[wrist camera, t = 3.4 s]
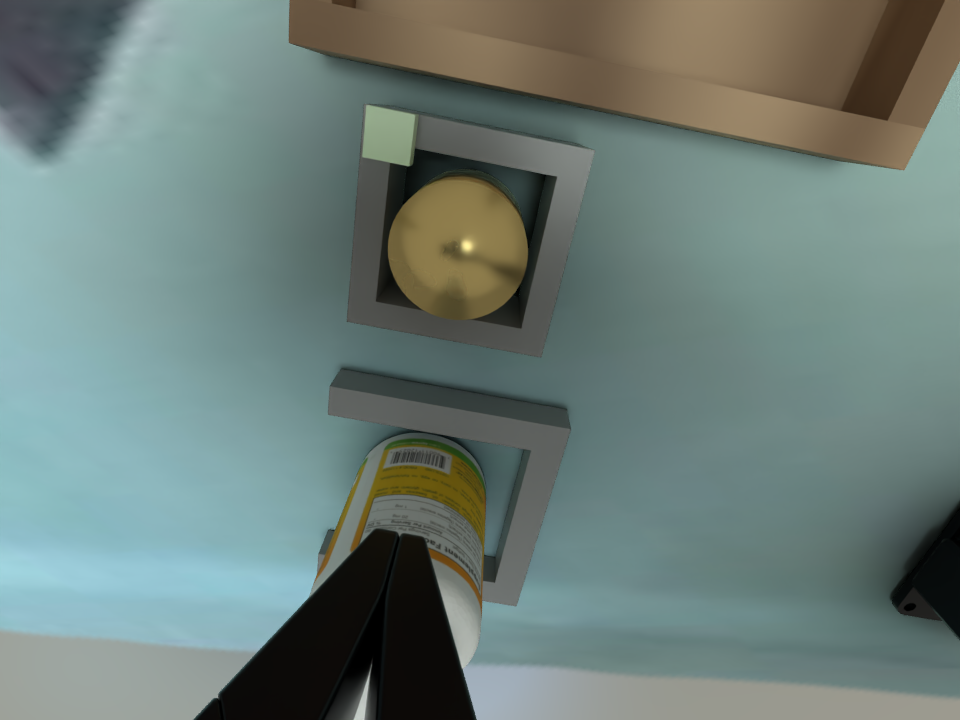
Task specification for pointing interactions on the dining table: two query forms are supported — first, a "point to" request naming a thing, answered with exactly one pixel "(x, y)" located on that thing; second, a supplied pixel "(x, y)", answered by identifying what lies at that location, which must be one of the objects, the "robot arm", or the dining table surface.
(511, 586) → the grey angular frames
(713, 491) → the dining table surface
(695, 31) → the brown wooden tray
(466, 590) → the supplement bottle
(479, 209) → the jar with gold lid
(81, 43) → the dining table surface
